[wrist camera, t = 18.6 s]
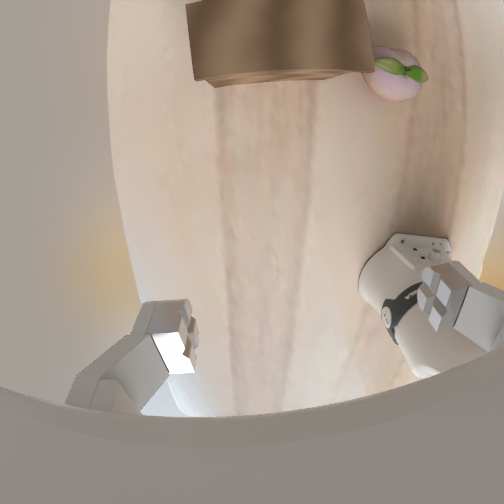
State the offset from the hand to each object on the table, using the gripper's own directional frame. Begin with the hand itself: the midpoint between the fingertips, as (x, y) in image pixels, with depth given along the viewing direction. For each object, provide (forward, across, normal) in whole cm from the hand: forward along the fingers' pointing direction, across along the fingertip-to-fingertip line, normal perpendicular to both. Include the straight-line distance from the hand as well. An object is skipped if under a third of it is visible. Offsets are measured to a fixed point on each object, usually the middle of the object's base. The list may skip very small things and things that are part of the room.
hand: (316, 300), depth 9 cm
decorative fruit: (+35, -20, -11) cm, 42 cm away
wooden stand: (+35, -3, -20) cm, 41 cm away
